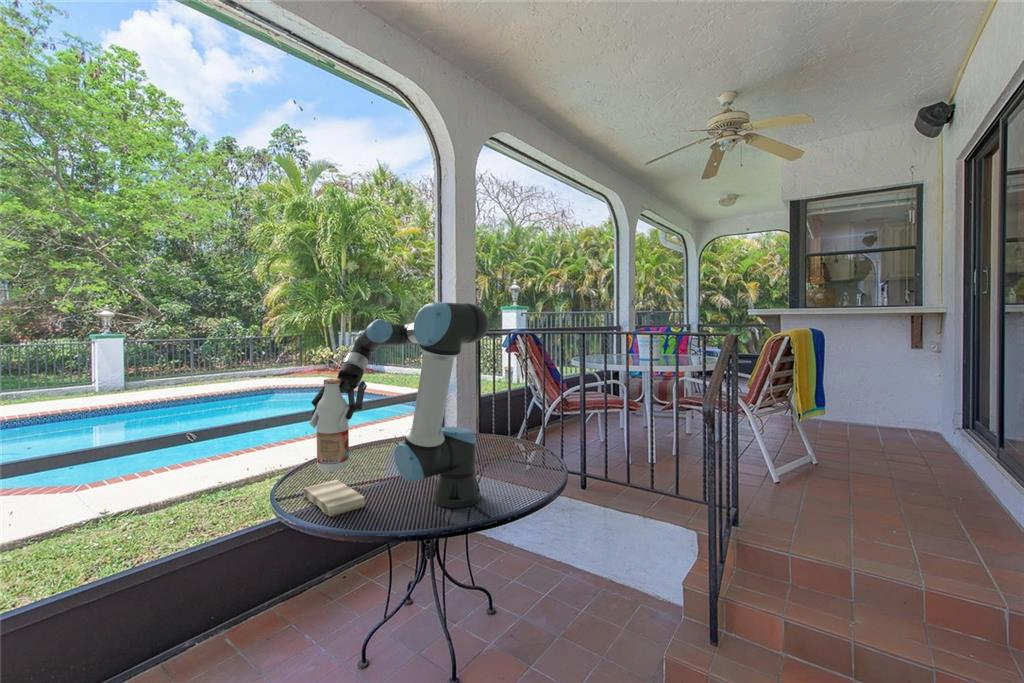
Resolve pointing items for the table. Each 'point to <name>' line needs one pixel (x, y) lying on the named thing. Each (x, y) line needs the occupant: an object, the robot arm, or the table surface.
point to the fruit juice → (332, 429)
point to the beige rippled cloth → (334, 497)
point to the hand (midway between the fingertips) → (326, 426)
